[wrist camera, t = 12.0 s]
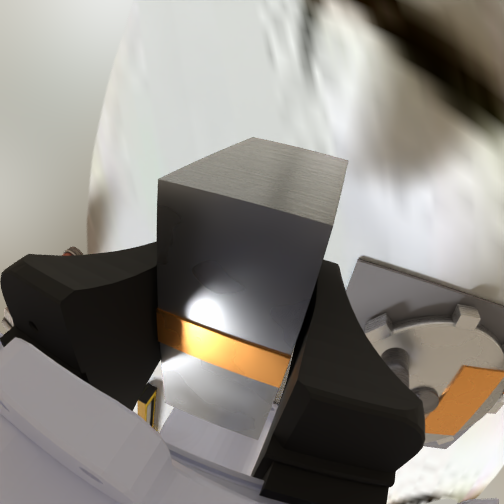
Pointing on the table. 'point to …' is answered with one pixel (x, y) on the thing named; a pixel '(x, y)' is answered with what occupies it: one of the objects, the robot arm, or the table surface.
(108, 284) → the robot arm
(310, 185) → the orange striped gray block
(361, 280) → the base plate
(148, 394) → the spirit level
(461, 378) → the sprocket
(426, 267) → the table surface
